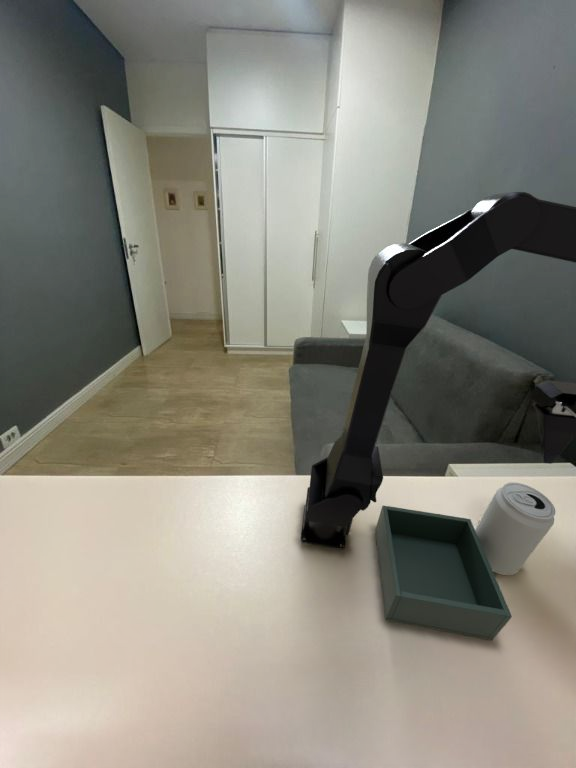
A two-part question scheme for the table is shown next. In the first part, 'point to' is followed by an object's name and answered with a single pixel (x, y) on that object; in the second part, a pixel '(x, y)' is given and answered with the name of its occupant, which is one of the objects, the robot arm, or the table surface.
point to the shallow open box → (437, 574)
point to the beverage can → (514, 526)
